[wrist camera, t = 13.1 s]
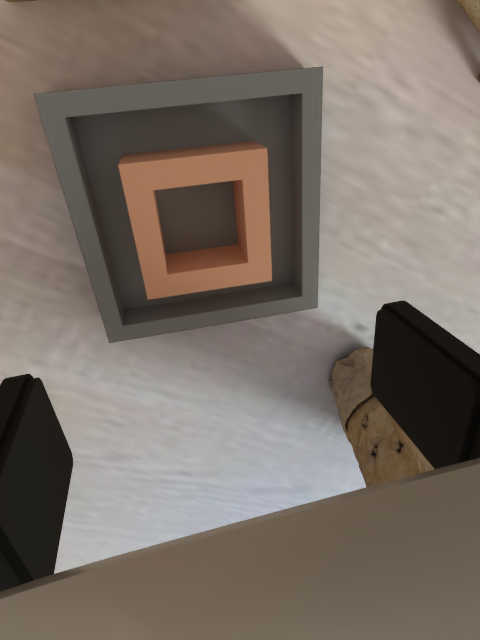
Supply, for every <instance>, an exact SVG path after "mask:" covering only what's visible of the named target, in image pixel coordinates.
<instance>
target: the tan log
mask: <svg viewBox="0 0 480 640" xmlns="http://www.w3.org/2000/svg"><path fill="white" fill-rule="evenodd" d="M372 360H373V349H370V348H368V347H364V348H362V349H357V350H354V351H353V352H352V353H351V354H350V355H349V356H348V357H347V358H344V359H341V360H338V361H336V362H335V365H334V368H333V370H332V373H331V379H329V386H330V388H331V390H332V393H333V395H334V398H335V401H336V404H337V408H338V411H339V414H340V418H341V422H342V426H343V430H344V432H345V434H346V436H347V438H348V440H349V442H350V443H351V445H352V448H353V451H354V454H355V457H356V459H357V461H358V463H359V468H360V470H361V473H362V475H363V477H364V481H365V484H366V487H370V486H374V485H378V484H381V483H385V482H389V481H393V480H396V479H400V478H404V477H408V476H412V475H415V474H419V473H423V472H427V471H430V470H434V468H433V466H432V465H431V464H430V463H429V462H428V460H427V459H426V458H425V457H424V455H423V454H422V453H421V452H420V451H419V449H418V448H417V447H416V446H415V445H414V443H413V442H412V441H411V440H410V439H409V437H408V436H407V435H406V434H405V432H404V431H403V430H402V429H401V428H400V426H399V425H398V424H397V423H396V422H395V420H394V419H393V418H392V417H391V415H390V414H389V413H388V412H387V411H386V409H385V408H384V407H383V406H382V405H381V403H380V402H379V401H378V400H377V398H376V397H375V396H374V394H373V393H372V390H371V385H370V382H371V371H372Z"/></svg>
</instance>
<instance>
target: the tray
mask: <svg viewBox="0 0 480 640" xmlns="http://www.w3.org/2000/svg"><path fill="white" fill-rule="evenodd" d="M322 86H323V67H312V68H302V69H291V70H281V71H270V72H260V73H249V74H238V75H228V76H217V77H207V78H196V79H186V80H175V81H165V82H154V83H144V84H133V85H122V86H112V87H101V88H91V89H80V90H70V91H59V92H49V93H38V94H33V95H34V98H35V101H36V104H37V108H38V111H39V114H40V118H41V121H42V124H43V127H44V131H45V134H46V137H47V140H48V144H49V147H50V150H51V154H52V157H53V160H54V163H55V167H56V170H57V173H58V176H59V180H60V183H61V186H62V189H63V193H64V196H65V199H66V203H67V206H68V209H69V212H70V216H71V219H72V222H73V225H74V229H75V232H76V235H77V239H78V242H79V245H80V248H81V252H82V255H83V258H84V261H85V265H86V268H87V271H88V275H89V278H90V281H91V284H92V288H93V291H94V294H95V297H96V301H97V304H98V307H99V310H100V314H101V317H102V320H103V324H104V327H105V330H106V333H107V337H108V340H109V343H113V342H119V341H124V340H130V339H136V338H142V337H148V336H154V335H160V334H166V333H172V332H178V331H184V330H189V329H195V328H201V327H207V326H213V325H219V324H225V323H231V322H237V321H243V320H249V319H255V318H260V317H266V316H272V315H278V314H284V313H290V312H296V311H302V310H308V309H314V308H318V264H319V219H320V175H321V130H322ZM247 141H255V142H257V143H259V144H261V145H262V146H264V147H266V148H267V154H268V181H269V209H270V236H271V263H272V281H267V282H261V283H254V284H248V285H241V286H234V287H228V288H221V289H215V290H208V291H202V292H195V293H188V294H182V295H175V296H169V297H162V298H156V299H149V300H148V298H147V293H146V289H145V284H144V280H143V275H142V271H141V266H140V262H139V257H138V253H137V248H136V244H135V239H134V235H133V230H132V226H131V221H130V217H129V212H128V207H127V203H126V198H125V194H124V189H123V185H122V180H121V176H120V171H119V167H118V164H119V161H120V159H121V157H122V155H126V154H136V153H145V152H154V151H163V150H173V149H182V148H191V147H201V146H210V145H219V144H228V143H238V142H247ZM154 191H155V196H156V202H157V207H158V213H159V218H160V224H161V229H162V235H163V240H164V246H165V251H166V254H172V253H179V252H186V251H194V250H201V249H208V248H215V247H222V246H229V245H237V244H238V234H237V222H236V210H235V197H234V185H233V181H227V182H218V183H210V184H201V185H193V186H185V187H176V188H168V189H160V190H154Z"/></svg>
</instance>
